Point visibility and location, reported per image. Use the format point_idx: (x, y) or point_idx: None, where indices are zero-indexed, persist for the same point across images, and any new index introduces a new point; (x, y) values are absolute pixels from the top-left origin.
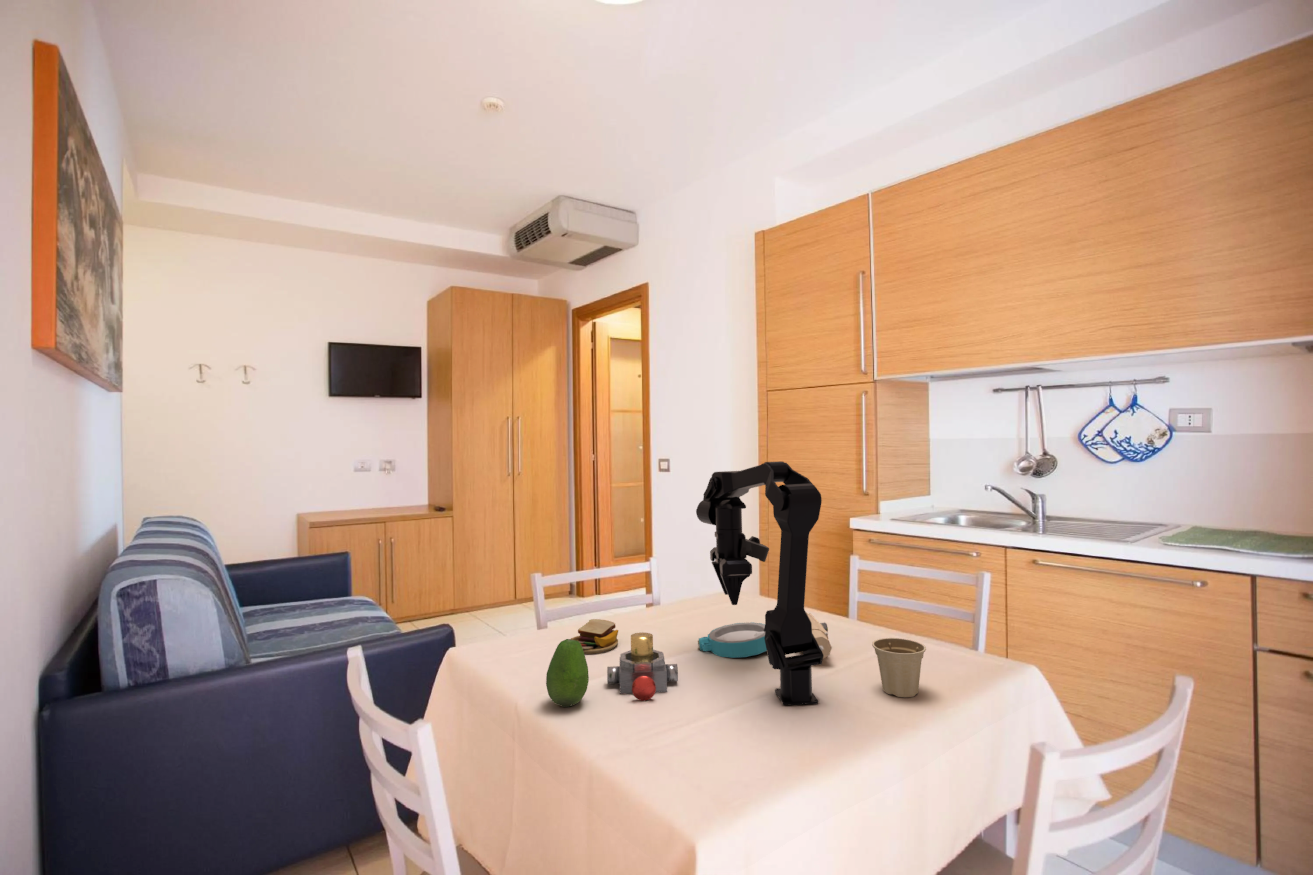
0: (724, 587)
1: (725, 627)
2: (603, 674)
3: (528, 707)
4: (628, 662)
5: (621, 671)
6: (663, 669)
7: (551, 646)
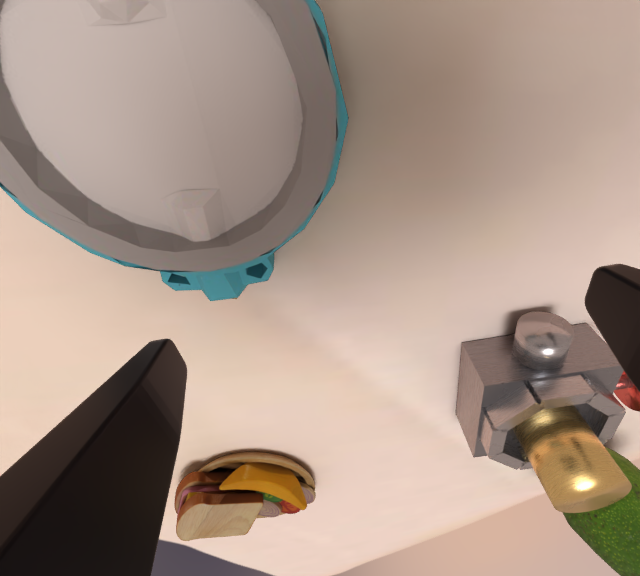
0: (170, 433)
1: (63, 208)
2: (436, 437)
3: None
4: None
5: None
6: (610, 371)
7: (269, 520)
